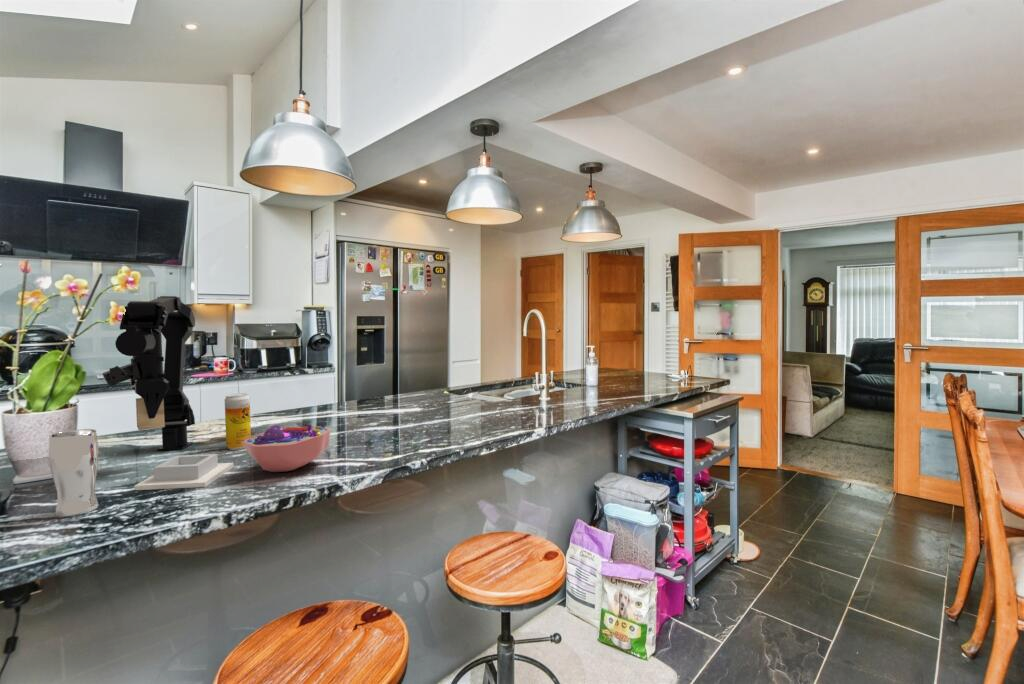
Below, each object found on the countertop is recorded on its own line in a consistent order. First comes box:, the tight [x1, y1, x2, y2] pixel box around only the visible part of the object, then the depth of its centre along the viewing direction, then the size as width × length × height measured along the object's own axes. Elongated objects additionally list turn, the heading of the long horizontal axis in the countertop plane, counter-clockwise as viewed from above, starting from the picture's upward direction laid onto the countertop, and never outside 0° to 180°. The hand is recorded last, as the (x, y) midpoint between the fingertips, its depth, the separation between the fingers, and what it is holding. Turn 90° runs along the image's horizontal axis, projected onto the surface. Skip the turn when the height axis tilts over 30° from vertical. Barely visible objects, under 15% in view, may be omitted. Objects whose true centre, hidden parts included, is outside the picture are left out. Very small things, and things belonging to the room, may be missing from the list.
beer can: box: [224, 392, 252, 451], centre depth 134 cm, size 6×6×15 cm
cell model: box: [242, 424, 331, 473], centre depth 116 cm, size 17×20×11 cm
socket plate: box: [133, 453, 235, 491], centre depth 109 cm, size 14×14×4 cm
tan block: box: [135, 397, 165, 431], centre depth 116 cm, size 5×5×7 cm
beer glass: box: [48, 428, 100, 518], centre depth 90 cm, size 7×7×15 cm
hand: (150, 416), depth 116 cm, fingers closed on tan block, 5 cm apart
